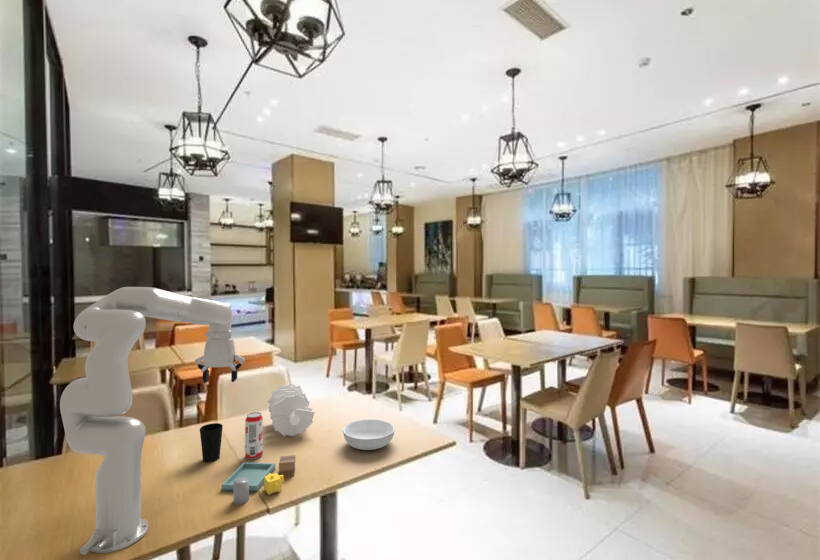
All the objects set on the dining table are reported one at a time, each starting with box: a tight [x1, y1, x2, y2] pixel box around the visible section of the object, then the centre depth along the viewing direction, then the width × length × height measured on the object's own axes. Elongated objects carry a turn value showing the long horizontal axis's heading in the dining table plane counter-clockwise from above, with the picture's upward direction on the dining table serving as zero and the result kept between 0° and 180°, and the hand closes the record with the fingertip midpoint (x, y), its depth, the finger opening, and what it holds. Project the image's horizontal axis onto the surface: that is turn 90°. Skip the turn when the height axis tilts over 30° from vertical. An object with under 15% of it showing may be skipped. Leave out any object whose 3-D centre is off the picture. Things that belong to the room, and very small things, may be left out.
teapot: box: [263, 472, 285, 496], centre depth 124 cm, size 8×6×5 cm
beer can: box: [244, 411, 264, 460], centre depth 147 cm, size 6×6×16 cm
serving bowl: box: [342, 418, 396, 451], centre depth 158 cm, size 21×21×7 cm
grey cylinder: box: [232, 477, 250, 506], centre depth 119 cm, size 4×4×6 cm
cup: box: [199, 422, 224, 463], centre depth 145 cm, size 8×8×12 cm
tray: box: [221, 461, 276, 493], centre depth 131 cm, size 15×12×2 cm
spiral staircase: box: [267, 382, 316, 437], centre depth 174 cm, size 18×18×25 cm
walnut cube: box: [278, 454, 296, 478], centre depth 135 cm, size 5×5×5 cm
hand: (220, 381), depth 144 cm, fingers open, 9 cm apart
